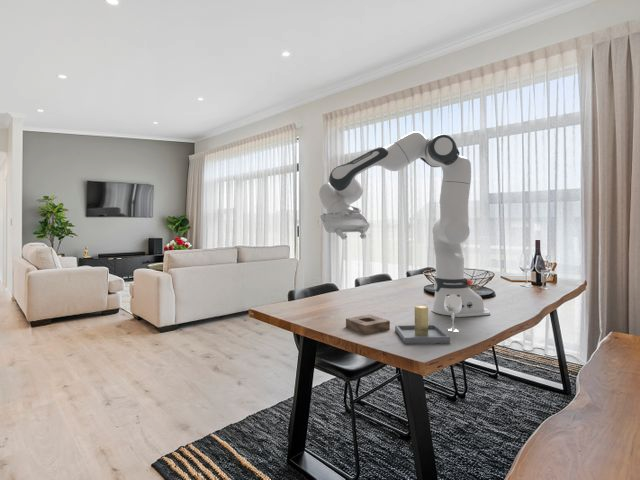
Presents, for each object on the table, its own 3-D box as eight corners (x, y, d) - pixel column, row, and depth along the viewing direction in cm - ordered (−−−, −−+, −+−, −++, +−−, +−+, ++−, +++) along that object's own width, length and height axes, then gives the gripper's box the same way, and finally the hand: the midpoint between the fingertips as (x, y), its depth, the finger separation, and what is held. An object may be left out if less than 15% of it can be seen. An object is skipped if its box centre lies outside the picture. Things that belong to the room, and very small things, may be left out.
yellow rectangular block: (421, 332, 125) (421, 305, 125) (428, 334, 122) (428, 307, 122) (414, 333, 123) (414, 306, 123) (421, 336, 121) (421, 308, 120)
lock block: (369, 322, 141) (369, 314, 141) (389, 329, 132) (389, 320, 132) (345, 326, 136) (345, 318, 135) (365, 334, 126) (364, 325, 126)
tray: (435, 330, 130) (435, 324, 130) (449, 343, 116) (449, 336, 116) (395, 330, 130) (395, 325, 130) (404, 344, 116) (404, 337, 116)
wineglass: (441, 328, 133) (441, 294, 132) (457, 327, 133) (457, 293, 133) (448, 332, 127) (448, 297, 126) (464, 332, 127) (465, 297, 127)
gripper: (321, 208, 149) (335, 233, 141) (362, 208, 160) (377, 231, 152) (316, 219, 153) (329, 244, 145) (356, 219, 164) (370, 242, 156)
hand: (354, 238), depth 149 cm, fingers open, 8 cm apart
